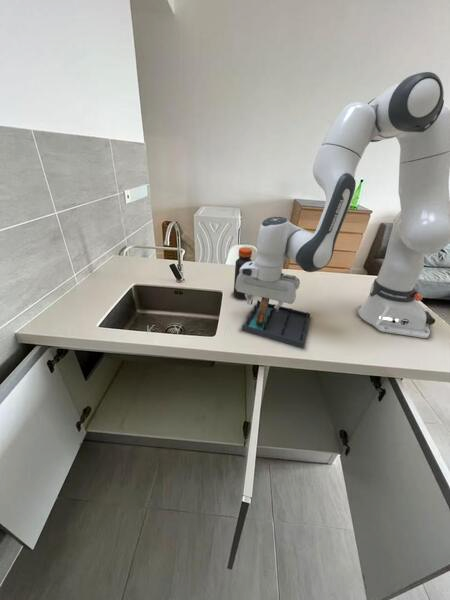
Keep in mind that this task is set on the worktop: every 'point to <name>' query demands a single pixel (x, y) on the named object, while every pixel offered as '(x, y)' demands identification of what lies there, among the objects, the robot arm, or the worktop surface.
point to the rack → (279, 325)
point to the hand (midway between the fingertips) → (262, 307)
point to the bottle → (243, 258)
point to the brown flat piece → (262, 311)
